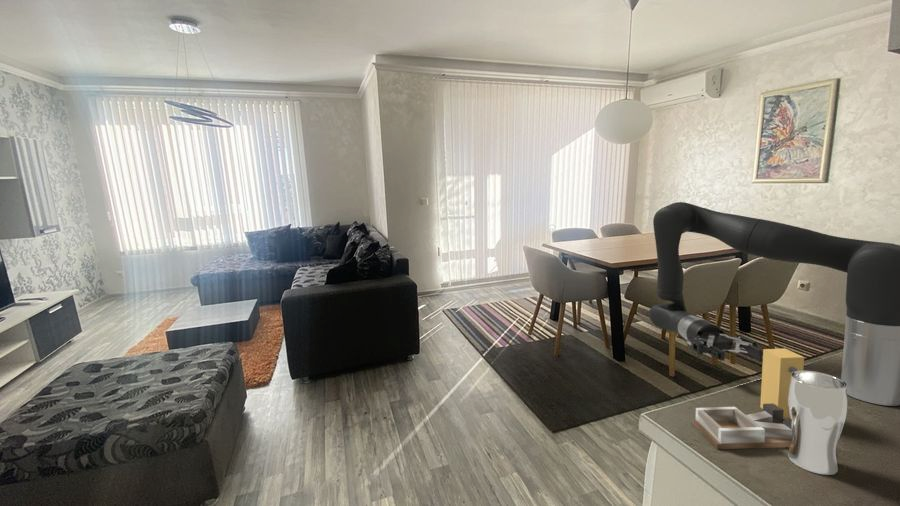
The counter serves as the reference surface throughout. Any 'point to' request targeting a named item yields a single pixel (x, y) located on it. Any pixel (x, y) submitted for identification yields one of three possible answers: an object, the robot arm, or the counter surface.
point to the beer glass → (816, 420)
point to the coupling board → (744, 427)
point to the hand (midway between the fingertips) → (742, 356)
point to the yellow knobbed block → (778, 376)
